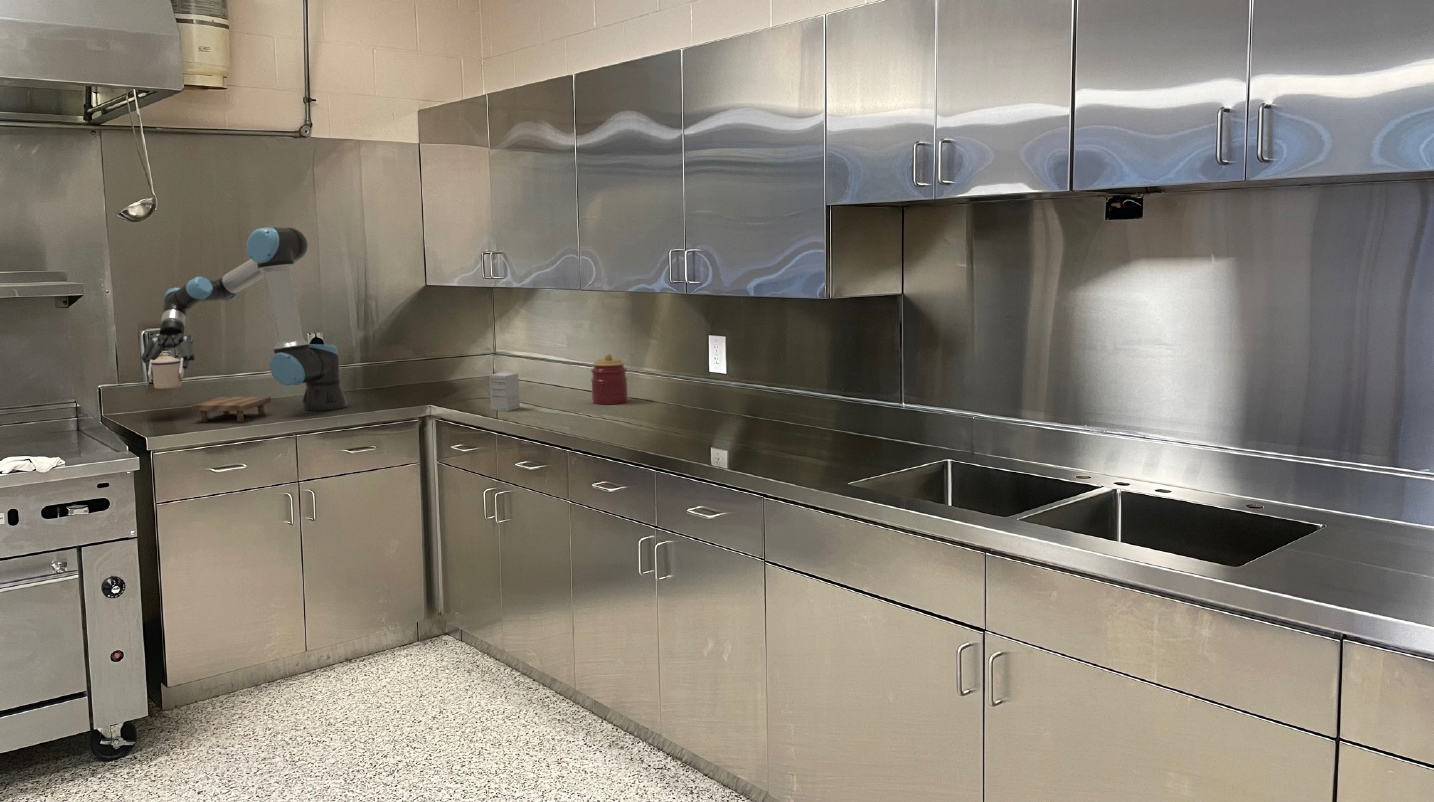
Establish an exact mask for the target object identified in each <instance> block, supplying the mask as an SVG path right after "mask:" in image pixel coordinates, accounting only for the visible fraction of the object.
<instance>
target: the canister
mask: <svg viewBox="0 0 1434 802" xmlns="http://www.w3.org/2000/svg"><path fill="white" fill-rule="evenodd" d="M592 365H593V368H591V369H590V372H591V373H592V378H591V379H590V380H591V381H590V382H591V392H592V393H591V394H592V395H591V400H592V403H594V404H597V405H619V404H624V403H626V402H628V398H629V396H628V395H629V394H628V377H627V374H626V372H627V370H628V369H627V368H626V367H625V366H624V365H625V362H624V361H623V360H621V359H619V358H613V355H612V354H611V353H606V354H605V356H604V358H601V359H597V360H595V362H593V363H592Z"/></svg>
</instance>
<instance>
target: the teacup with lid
mask: <svg viewBox="0 0 1434 802" xmlns="http://www.w3.org/2000/svg"><path fill="white" fill-rule="evenodd" d="M180 360H181V359H180V358H175V357H174V356H171V355H169V353H168V352H161V356H158V357H157V358H156V360H153V361H152V362H151V364H152V372H153V379H152V381H153V387H154V389H160V390H161V389H163V390H164V389H175V388H180V387H182V386H183V380H182V379H183V378H181V377H180V375H179V368H180V362H181V361H180Z"/></svg>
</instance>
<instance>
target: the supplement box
mask: <svg viewBox="0 0 1434 802" xmlns="http://www.w3.org/2000/svg"><path fill="white" fill-rule="evenodd" d="M519 383H520V382H519V373H517V372H502V371H501V372H498V373H493V374H489V394H490V409H491V411H497V412H498V411H499V412H510V411H513V410H517V409H520V407H521V405H520V388H519V387H520V386H519Z"/></svg>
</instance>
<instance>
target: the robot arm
mask: <svg viewBox="0 0 1434 802" xmlns="http://www.w3.org/2000/svg"><path fill="white" fill-rule="evenodd" d="M246 252H247V255H248V257H249V260H248V261H246V262H244V263H242V264H240V265H239V266H237V267H235V268H234V269H232V270H230V271H229V272H227V273H226V274H224V275H223V276H221V277H219V278H217V279H210V280H209V279H207V278H206V277H204V276H196V277H194V278H191V279H190V280H189V281H188V282H187V283H185V284H184V285H183V286H181V287H173V288H172V287H171V288H169V289H167V291H166V292H165V295H164V298H163V305H162V315H161V320H160V321H161V322H160V326H159V327H160V328H159V334H158V336H157V337H153V336H149V337H148V343H147V344H146V346H145V349H144V351H143V353H142V355H141V360H142V362H143V364H146V365H145V368H146V370H147V376H148V377H149V380H153V372H152V364H151V362H152V361H153V360H156V359H157V358H158V357H160V355H162V353H163V351H165V350H166V349H171V348H172V349H175V348H176V349H177V351H178V353H180V355H181V358H180V359H179V360H180V361H181V362H180V368H179V375H180V377H181V378H182V379H183V378H184V374H185V370H187V369H188V366H189V362H190V361H192V362H193V361H195V353H194V350H193V340H194V339H193V337H192V335H191V334H188V335H187V336H185V335H184V334H185V326H186V319H187V312H188V311H189V310H190V309H191V308H194V307H195V306H196V305H197V304H200V303H206V302H207V303H208V302H217V301H218V302H219V301H229V300H233V299H235V298H237V297H238V295H239V293H240V292H241V291H243V290H244V289H245V288H248V287H249V286H251V285H253V284H254V283H256V282H258V281H259V280H261V279H263V278H264V281H265V287H266V292H267V298H268V302H269V307H270V313H271V317H272V323H273V328H274V329H273V330H274V332H275V339H276V343H275V346H273V354H274V355H273V356H272V357H271V358H270V361H269V372H270V373H271V376H272V378H274V380H275V381H276V382H278V383H279V384H281V385H283V386H286V387H287V386H298V385H299V386H300V385H301V384H305V390H304V393H303V394H304V395H303V398H302V403H301V405H302V407H301V408H302V410H303V411H310V412H311V411H312V412H313V411H314V412H323V411H331V410H333V411H334V410H339V409H344V408H346V407H348V402H347V399H346V395H345V394H344V393H345V392H344V390H343V388H342V386H341V379H340V375H341V374H340V363H339V357H340V356H339V353H338V347H337V346H336V345H335V344H320V343H319V344H317V343H316V344H314V343H313V344H312V343H309V341H307V340H305V339H304V336H303V332H302V326H301V325H302V324H301V319H300V314H299V309H298V308H299V307H298V304H297V298H296V294H295V288H294V283H293V277H292V269H293V267H294V266H295V263H297V262H298V261H300V260H301V259H303V257H305V255H306V254H307V252H308V241H307V237H306V236H305V235H304V233H302V232H301V231H300V230H299V229H297V228H294V227H273V226H272V227H270V226H269V227H262V228H257V229H255V230H253V232H251V233H250V236H248V238H247V241H246ZM183 342H185V343H186V347H187V351H188V355H187V353H186V352H185V351H184V348H183V347H182V345H181V344H182V343H183ZM156 344H157V345H156ZM155 345H156V346H155Z"/></svg>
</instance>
